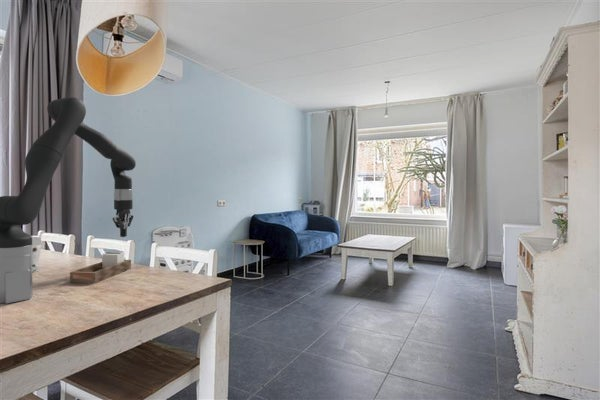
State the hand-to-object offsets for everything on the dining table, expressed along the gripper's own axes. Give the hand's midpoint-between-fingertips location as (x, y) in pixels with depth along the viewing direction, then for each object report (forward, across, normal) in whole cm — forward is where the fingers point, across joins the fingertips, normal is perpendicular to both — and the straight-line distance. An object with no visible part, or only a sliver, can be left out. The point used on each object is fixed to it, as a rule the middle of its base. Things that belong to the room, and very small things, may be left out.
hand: (123, 236), depth 153 cm
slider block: (+12, +8, 0) cm, 15 cm away
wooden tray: (+14, +15, 0) cm, 20 cm away
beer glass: (+14, +12, -34) cm, 39 cm away
